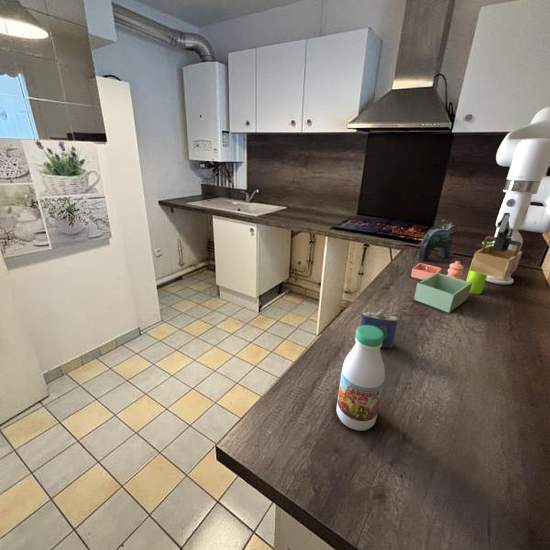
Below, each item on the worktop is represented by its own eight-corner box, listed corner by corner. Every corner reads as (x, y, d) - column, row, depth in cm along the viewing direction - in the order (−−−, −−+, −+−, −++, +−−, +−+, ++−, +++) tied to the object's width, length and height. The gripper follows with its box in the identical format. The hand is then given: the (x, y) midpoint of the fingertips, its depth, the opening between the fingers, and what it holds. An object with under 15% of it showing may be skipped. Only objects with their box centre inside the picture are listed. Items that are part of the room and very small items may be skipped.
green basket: (433, 288, 114) (437, 272, 112) (466, 300, 106) (472, 282, 103) (413, 300, 105) (417, 283, 102) (448, 314, 96) (454, 295, 94)
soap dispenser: (486, 296, 109) (504, 245, 101) (466, 294, 110) (482, 243, 103) (480, 289, 115) (496, 240, 107) (460, 287, 116) (475, 239, 108)
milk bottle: (331, 401, 62) (342, 320, 54) (367, 399, 62) (382, 318, 54) (342, 433, 55) (356, 345, 47) (382, 430, 55) (402, 343, 47)
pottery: (410, 277, 124) (415, 255, 121) (417, 271, 131) (422, 250, 127) (458, 290, 114) (465, 266, 110) (463, 282, 120) (469, 260, 116)
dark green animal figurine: (442, 254, 155) (451, 216, 147) (453, 258, 149) (463, 219, 141) (414, 258, 147) (423, 219, 139) (425, 263, 142) (435, 222, 134)
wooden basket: (483, 261, 97) (493, 232, 94) (515, 269, 91) (527, 238, 87) (469, 270, 90) (479, 238, 86) (503, 279, 84) (515, 246, 80)
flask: (392, 344, 80) (399, 310, 76) (393, 350, 78) (400, 316, 74) (357, 338, 83) (362, 305, 79) (357, 344, 80) (362, 310, 76)
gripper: (530, 190, 74) (506, 258, 81) (544, 187, 83) (521, 248, 90) (496, 187, 79) (476, 251, 86) (512, 184, 88) (493, 243, 95)
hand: (499, 249), depth 88 cm, fingers closed on wooden basket, 1 cm apart
